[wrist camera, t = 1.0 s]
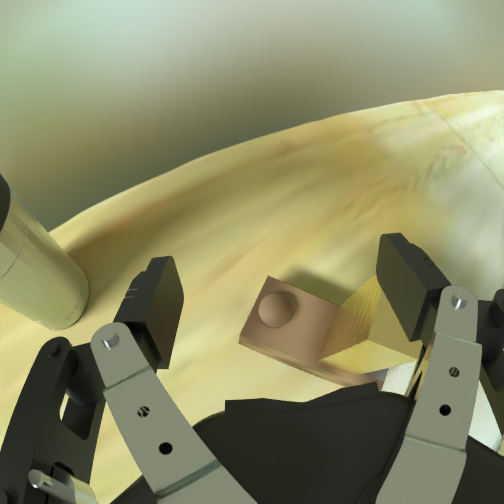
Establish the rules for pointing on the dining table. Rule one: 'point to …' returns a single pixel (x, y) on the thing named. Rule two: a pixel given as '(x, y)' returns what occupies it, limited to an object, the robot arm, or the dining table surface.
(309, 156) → the dining table surface
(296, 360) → the body
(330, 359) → the brushed brass block
